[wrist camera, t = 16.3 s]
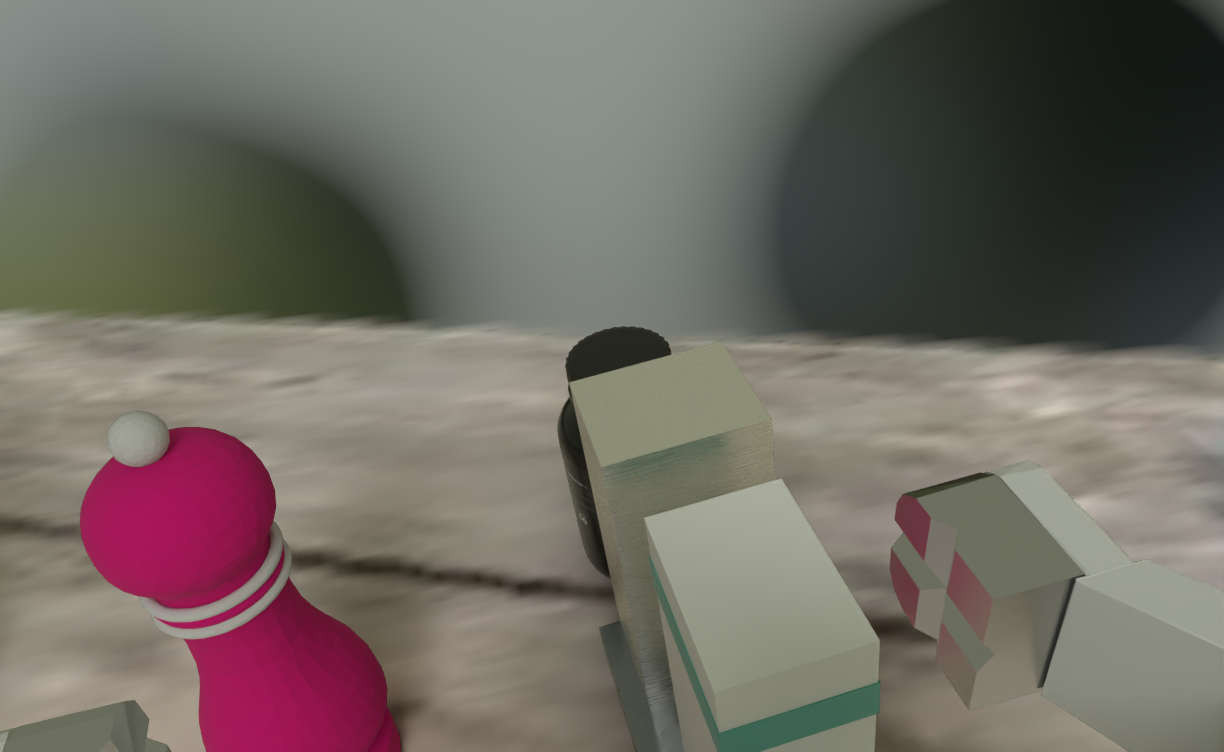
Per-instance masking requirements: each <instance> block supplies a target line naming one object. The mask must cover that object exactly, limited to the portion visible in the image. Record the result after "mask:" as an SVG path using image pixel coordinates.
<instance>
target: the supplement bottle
mask: <svg viewBox="0 0 1224 752" xmlns="http://www.w3.org/2000/svg"><path fill="white" fill-rule="evenodd" d="M669 355H672V354H671V350H670V348H669V344H668V342H666V341H665V340H664V337H662V336H659V334H658V333H655V332H652V331H651V330H647V329H644V328H636V327H624V326H623V327H619V328H618V327H614V328H611V329H604V330H602V331H600V332H595V333H594V334H592V335H590V336H587V337H585V338H584V339H583V340H581V341H579V342H578V344H577V345H575V346H574V347H573V349H572V350H571V351H570V352H569V356H568V357H567V358H566V366H565V368H566V373H567V378H568V383H569V382H573V381H576V380H580V379H584V378H588V377H591V376H595V375H599V374H602V373H606V372H610V371H613V370H617V369H621V368H625V367H628V366H632V365H636V364H639V363H643V362H647V361H650V360H654V359H658V358H661V357H665V356H669ZM568 390H569V395H570V397H569V398H568V400H567V401H566V403H565V404H564V406H563V408H562V411H561V413H560V416H559V420H558V438H559V443H560V448H561V452H562V456H563V461H564V465H565V469H566V473H567V478H568V482H569V486H570V491H571V495H572V499H573V504H574V508H575V512H576V516H577V521H578V525H579V529H580V534H581V537H582V541H583V545H584V549H585V551H586V554H587V556H588V558H589V560H590V561H591V563H592V564H593V565H594V566H595V568H596V569H597V570H599V571H600V572H601V573H602V574H604V575H605V576H607V577H609V578H611V576H610V572H609V567H608V562H607V558H606V553H605V548H604V544H603V539H602V534H601V529H600V525H599V520H598V515H597V511H596V506H595V501H594V497H593V492H592V487H591V483H590V478H589V473H588V469H587V464H586V459H585V455H584V450H583V445H582V440H581V436H580V431H579V426H578V422H577V417H576V412H575V408H574V403H573V398H572V394H571V389H570V384H569V385H568Z"/></svg>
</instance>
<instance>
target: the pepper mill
mask: <svg viewBox="0 0 1224 752" xmlns="http://www.w3.org/2000/svg"><path fill="white" fill-rule="evenodd" d="M107 445H108V449H109V451H110V453H111V454H112V455H113V457H112V458H111V459H110V460H109V461H108V462H107V463H106V464H105V465H104V466H103V468H102V469H101V470H100V471H99V472H98V473H97V475H96V476H95V478H94V479H93V481H92V483H91V485H90V486H89V488H88V490H87V492H86V494H85V497H84V500H83V504H82V507H81V516H80V527H81V536H82V540H83V543H84V546H85V549H86V552H87V553H88V555H89V557H90V559H91V561H92V563H93V565H94V566H95V567H96V569H97V570H98V571H99V572H100V573H101V574H102V575H103V577H104V578H105V579H106V580H107V581H108V582H109V583H111V584H112V585H114V586H115V587H117V588H118V589H120V590H122V591H124V592H127V593H130V594H133V595H136V596H139V598H140V601H141V603H142V605H143V607H144V608H145V609H146V610H147V612H148V613H150V614H151V617H152V619H153V621H154V623H155V624H156V626H157V627H158V628H159V629H160V630H161V631H163V632H164V633H166V634H168V635H170V636H174V637H178V638H181V639H184V640H185V642H186V643H187V645H188V647H189V649H190V651H191V653H192V655H193V657H194V659H195V661H196V663H197V668H198V672H199V677H200V697H199V724H200V729H201V734H202V739H203V743H204V746H205V749H206V752H401V743H400V735H399V731H398V729H397V726H396V724H395V722H394V720H393V718H392V716H391V714H390V712H389V710H388V708H387V706H386V705H387V686H386V680H385V676H384V673H383V670H382V667H381V665H380V664H379V662H378V660H377V659H376V657H375V656H374V654H373V653H372V651H371V649H370V648H369V646H368V645H367V644H366V643H365V642H364V641H363V640H362V639H361V638H360V637H359V636H358V635H357V634H356V633H355V632H353V631H352V630H351V629H350V628H349V627H348V626H346V625H345V624H343V623H341V622H340V621H338V620H336V619H334V618H332V617H330V616H329V615H327V614H325V613H323V612H321V611H320V610H318V609H317V608H315V607H313V606H312V605H311V604H310V603H309V602H308V601H306V600H305V599H304V598H303V597H302V596H301V595H300V593H299V592H298V590H297V589H296V587H295V586H294V585H293V583H292V582H291V580H290V578H289V575H290V571H291V566H292V555H291V551H290V548H289V546H288V544H287V542H286V541H285V540H284V539H283V537H282V533H281V530H280V528H279V527H278V525H277V524H276V523H275V522H274V521H273V520H274V515H275V510H276V497H275V489H274V486H273V484H272V481H271V478H270V475H269V473H268V471H267V469H266V468H265V466H264V465H263V463H262V461H261V460H260V459H259V458H258V457H257V456H256V454H255V453H254V452H253V451H252V450H251V449H250V448H249V447H247V446H246V445H245V444H243V443H242V442H241V441H239V440H238V439H237V438H235V437H233V436H230V435H228V434H225V433H223V432H220V431H217V430H215V429H208V428H202V427H183V428H175V429H170V430H168V429H167V426H166V424H165V423H164V422H163V421H162V420H161V419H160V418H159V417H157V416H156V415H154V414H152V413H149V412H144V411H135V412H130V413H127V414H125V415H122V416H121V417H119V418H118V419H117V420H115V422H114V423H113V424H112V426H111V427H110V429H109V432H108V434H107Z"/></svg>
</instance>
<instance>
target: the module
mask: <svg viewBox="0 0 1224 752" xmlns="http://www.w3.org/2000/svg"><path fill="white" fill-rule="evenodd" d="M644 521H645V527H646V533H647V539H648V545H649V550H650V557H649V561H650V567H651V573H652V578H653V584H654V588H655V590H656V593H657V597H658V603H659V609H660V615H661V620H662V626H663V632H664V638H665V644H666V649H667V655H668V661H669V667H670V673H671V679H672V684H673V690H674V696H675V702H676V708H677V714H678V719H679V725H680V731H681V737H682V743H683V748H684V752H875V731H876V714H878V713H879V702H880V682H879V680H878V670H879V649H880V640H879V638H878V637H877V635H876V633H875V632H874V630H873V628H872V627H871V625H870V623H869V622H868V620H867V618H866V617H865V615H864V614H863V612H862V610H861V609H860V607H859V605H858V604H857V602H856V600H855V599H854V597H853V595H852V594H851V592H850V590H849V589H848V587H847V586H846V584H845V582H844V581H843V579H842V577H841V576H840V574H839V572H838V571H837V569H836V567H835V566H834V564H833V563H832V561H831V559H830V558H829V556H828V554H827V553H826V551H825V549H824V548H823V546H822V544H821V543H820V541H819V539H818V538H817V536H816V535H815V533H814V531H813V530H812V528H811V526H810V525H809V523H808V521H807V520H806V518H805V516H804V515H803V513H802V511H801V510H800V508H799V507H798V505H797V503H796V502H795V500H794V498H793V497H792V495H791V493H790V492H789V490H788V488H787V487H786V485H785V484H784V482H783V480H782V479H778V480H774V481H771V482H767V483H764V484H760V485H757V486H753V487H750V488H746V489H743V490H739V491H736V492H732V493H729V494H726V495H722V496H719V497H715V498H712V499H708V500H705V501H701V502H698V503H694V504H691V505H687V506H684V507H680V508H677V509H673V510H670V511H667V512H663V513H660V514H656V515H653V516H649V517H646V518H644Z"/></svg>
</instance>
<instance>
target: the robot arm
mask: <svg viewBox="0 0 1224 752" xmlns="http://www.w3.org/2000/svg"><path fill="white" fill-rule="evenodd" d="M895 521H896V522H897V524H898V525H899V527H900V528H901V529H902V531H903V534H902V535H901V536H900V537H899V538H898V540H897V541H896V542H895V543H894V545H893V546H892V547H891V557H890V572H891V576H892V581H893V585H894V590H895V593H896V595H897V597H898V600H899V602H900V604H901V606H902V609H903V610H904V612H905V614H906V615H907V617H908V618H909V620H910V622H911V623H912V625H913V626H914V628H916V629H918V630H920V631H922V632H923V633H925V634H927V635H929V636H931V637H933V638H935V639H937V640H938V643H937V651H936V662H937V663H938V665H939V666H940V668H941V669H942V671H943V672H944V674H945V675H946V677H947V678H948V680H949V681H950V683H951V684H952V686H953V687H954V689H955V691H956V692H957V694H958V695H959V697H960V698H961V700H962V701H963V703H964V704H965V706H966V707H967V709H968V710H972V709H975V708H979V707H983V706H986V705H990V704H994V703H997V702H1001V701H1005V700H1008V699H1012V698H1016V697H1019V696H1023V695H1027V694H1030V693H1034V692H1038V691H1041V690H1042V693H1041V695H1042V696H1044V697H1045V698H1047V699H1048V700H1050V701H1051V702H1053V703H1055V704H1056V705H1058V706H1059V707H1061V708H1062V709H1064V710H1065V711H1067V712H1068V713H1070V714H1072V715H1073V716H1075V717H1076V718H1078V719H1079V720H1081V721H1082V722H1084V723H1085V724H1087V725H1088V726H1090V727H1092V728H1093V729H1095V730H1096V731H1098V732H1099V733H1101V734H1102V735H1104V736H1105V737H1107V738H1108V739H1110V740H1112V741H1113V742H1115V743H1116V744H1118V745H1119V746H1121V747H1122V748H1124V749H1125V750H1127V751H1128V752H1224V591H1222V590H1220V589H1217V588H1215V587H1212V586H1210V585H1208V584H1205V583H1203V582H1200V581H1198V580H1196V579H1193V578H1191V577H1188V576H1186V575H1184V574H1181V573H1179V572H1176V571H1174V570H1172V569H1169V568H1167V567H1164V566H1162V565H1160V564H1157V563H1155V562H1152V561H1150V560H1148V559H1145V560H1141V561H1136V562H1133V561H1132V560H1131V559H1130V558H1129V557H1128V556H1127V555H1126V554H1125V552H1124V551H1123V550H1122V549H1121V548H1120V547H1119V546H1118V545H1117V544H1116V543H1115V542H1114V541H1113V540H1112V539H1111V538H1110V537H1109V536H1108V535H1107V534H1106V533H1105V532H1104V531H1103V530H1102V529H1101V528H1100V527H1099V526H1098V525H1097V524H1096V523H1095V522H1094V521H1093V520H1092V519H1091V518H1090V516H1089V515H1088V514H1087V513H1086V512H1085V511H1084V510H1083V509H1082V508H1081V507H1080V506H1079V505H1078V504H1077V503H1076V502H1075V501H1074V500H1073V499H1072V498H1071V497H1070V496H1069V495H1068V494H1067V493H1066V492H1065V491H1064V490H1063V489H1062V488H1061V487H1060V486H1059V485H1058V484H1057V483H1056V481H1055V480H1054V479H1053V478H1052V477H1051V476H1050V475H1049V474H1048V473H1047V472H1046V471H1045V470H1044V469H1043V468H1042V467H1041V466H1040V465H1038V464H1036V463H1033V462H1031V461H1029V460H1028V461H1024V462H1021V463H1017V464H1013V465H1009V466H1006V467H1002V468H998V469H994V470H990V471H987V472H985V473H977V474H973V475H970V476H966V477H962V478H959V479H955V480H952V481H948V482H944V483H941V484H937V485H934V486H930V487H926V488H923V489H919V490H916V491H912V492H908V493H905V494H903V495H902V496H901V498H900V499H899V501H898V502H897V505H896V513H895ZM148 724H149V718H148V717H147V716H146V714H145V713H144V712H143V710H142V709H141V708H140V706H139V705H138V704H137V703H136V701H135V700H131V701H124V702H120V703H115V704H111V705H107V706H103V707H99V708H94V709H90V710H86V711H82V712H78V713H74V714H69V715H65V716H61V717H57V718H53V719H48V720H44V721H40V722H36V723H32V724H27V725H23V726H19V727H17V728H13V729H9V730H5V731H1V732H0V752H171V750H170V749H169V747H168V746H167V745H166V744H163V743H160V742H157V741H154V740H152V739H149V738H146V736H147V730H148Z"/></svg>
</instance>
